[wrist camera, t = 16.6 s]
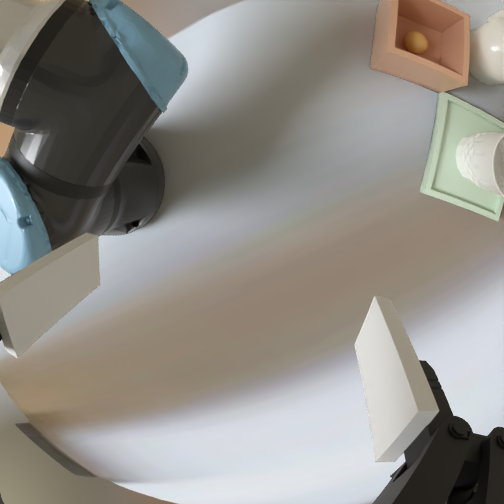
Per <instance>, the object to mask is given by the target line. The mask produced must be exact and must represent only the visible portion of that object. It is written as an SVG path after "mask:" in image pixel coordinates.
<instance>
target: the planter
mask: <svg viewBox="0 0 504 504" xmlns="http://www.w3.org/2000/svg"><path fill="white" fill-rule="evenodd" d="M410 31H417V32H420V33H422V34H423V35H424V36H425V37H426V39H427V41H428V49H427V51H426V52H425V53H423V54H414V53H412V52H410V51H409V50H408V49H407V48H406V46H405V44H404V37H405V35H406V34H407V33H408V32H410ZM469 55H470V16H469V15H468V14H466V13H464V12H462V11H460V10H458V9H456V8H454V7H452V6H450V5H448V4H446V3H444V2H442V1H440V0H381V1H380V3H379V4H378V6H377V12H376V22H375V31H374V39H373V47H372V54H371V61H370V68H371V69H375V70H378V71H381V72H384V73H387V74H390V75H393V76H396V77H399V78H402V79H404V80H407V81H410V82H412V83H415V84H418V85H420V86H423V87H425V88H428V89H430V90H432V91H435V92H437V93H441V92H444V91H448V90H452V89H455V88H459V87H463V86H466V85H468V74H469Z"/></svg>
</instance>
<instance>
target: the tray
mask: <svg viewBox="0 0 504 504" xmlns="http://www.w3.org/2000/svg"><path fill="white" fill-rule="evenodd" d="M487 132H504V123H503V122H501V121H500V120H498V119H496V118H494V117H493V116H491V115H489V114H487V113H485V112H484V111H482V110H480V109H478V108H476V107H474V106H472V105H470V104H468V103H466V102H464V101H462V100H460V99H458V98H456V97H454V96H452V95H450V94H448V93H445V92H441V93H439V94H438V102H437V109H436V115H435V121H434V127H433V133H432V138H431V144H430V149H429V153H428V158H427V163H426V167H425V172H424V176H423V180H422V184H421V188H420V192H422V193H424V194H427V195H430V196H433V197H436V198H439V199H441V200H444V201H447V202H450V203H453V204H455V205H458V206H461V207H463V208H466V209H469V210H471V211H474V212H476V213H479V214H481V215H484V216H486V217H489V218H491V219H494V220H496V221H499V217H500V214H501V210H502V206H503V203H504V198H502V197H500V196H498V195H496V194H494V193H492V192H489V191H487V190H485V189H483V188H481V187H479V186H477V185H476V184H473V183H471V182H469V181H468V180H466V179H465V178H464V177H462V175H461V173H460V171H459V170H458V168H457V163H456V157H455V155H456V150H457V145H458V144H459V142H460V141H461V139H462V138H463V137H465V136H467V135H469V134H478V133H487Z"/></svg>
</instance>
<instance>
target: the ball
mask: <svg viewBox="0 0 504 504" xmlns="http://www.w3.org/2000/svg"><path fill="white" fill-rule="evenodd" d="M404 44H405V46H406V48H407V49H408V50H409V51H410V52H412V53H414V54H423V53H425V52H426V51H427V49H428V41H427V39H426V37H425V36H424V35H423V34H422V33H420V32H417V31H410V32H408V33H407V34H406V35H405V37H404Z"/></svg>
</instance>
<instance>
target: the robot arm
mask: <svg viewBox="0 0 504 504" xmlns="http://www.w3.org/2000/svg"><path fill="white" fill-rule="evenodd" d="M187 74H188V64H187V61H186V59H185V57H184V56H183V55H182V53H181V52H180V51H179V50H178V49H177V48H176V47H175V46H174V45H173V44H172V43H171V42H170V41H169V40H168V39H166V38H165V37H164V36H163V35H162V34H161V33H160V32H159V31H158V30H156V29H155V28H154V27H153V26H152V25H151V24H150V23H148V22H147V21H146V20H145V19H143V18H142V17H141V16H140V15H139V14H137V13H136V12H135V11H134V10H132V9H131V8H130V7H128V6H127V5H125V4H124V3H123V2H121V1H120V0H89V2H88V1H85V0H50V1H44V2H42V1H40V0H0V122H2V123H5V124H7V125H10V126H12V127H15V130H14V133H13V135H12V137H11V140H10V143H9V145H8V148H7V151H6V153H5V155H4V156H3V157H2V158H1V157H0V266H1V267H2V268H3V269H4V270H5V271H6V272H8V273H9V274H11V276H10V277H8V278H6V279H5V280H4V281H2V282H0V341H1V340H2V341H3V343H4V346H5V349H6V351H7V352H8V353H10V354H12V355H13V356H15V357H16V358H19V357H20V356H21V355H22V354H23V353H24V352H25V351H26V350H27V349H28V348H29V347H30V346H31V345H33V344H34V343H35V342H36V341H37V340H38V339H39V338H40V337H41V336H42V335H43V334H44V333H46V332H47V331H48V330H49V329H50V328H51V327H52V326H53V325H54V324H55V323H57V322H58V321H59V320H60V319H61V318H62V317H63V316H64V315H66V314H67V313H68V312H69V311H70V310H71V309H72V308H74V307H75V306H76V305H77V304H78V303H79V302H81V301H82V300H83V299H84V298H85V297H86V296H88V295H89V294H90V293H91V292H92V291H94V290H95V289H96V288H97V287H98V286H100V272H99V250H98V237H99V236H100V235H125V234H128V233H131V232H133V231H135V230H137V229H139V228H140V227H142V226H144V225H145V224H146V223H148V222H149V221H150V220H151V219H152V218H153V216H154V215H155V214H156V212H157V210H158V208H159V206H160V204H161V201H162V198H163V193H164V172H163V167H162V164H161V161H160V158H159V156H158V154H157V152H156V151H155V149H154V148H153V146H152V145H151V144H150V143H149V142H148V141H147V140H146V139H145V138H143V137H144V136H145V134H146V133H147V132H148V130H149V129H150V128H151V126H152V125H153V124H154V122H155V121H156V120H157V118H158V117H159V116H160V114H161V113H162V112H163V113H164V112H165V111H166V109H167V105H168V103H169V102H170V100H171V99H172V97H173V96H174V94H175V93H176V92H177V90H178V89H179V88H180V86H181V85H182V84H183V82H184V81H185V79H186V77H187ZM355 349H356V354H357V359H358V363H359V368H360V373H361V378H362V383H363V389H364V394H365V399H366V405H367V411H368V417H369V423H370V429H371V435H372V442H373V449H374V456H375V462H395V461H396V460H397V459H398V458H399V457H400V456H401V455H402V454H403V453H404V454H405V459H406V462H405V463H404V464H403V465H402V466H401V467H399V468H398V469H397V470H396V471H395V472H394V473H393V474H392V475H391V476H390V477H392V479H391V481H390V482H389V483H388V485H387V486H386V487H385V489H384V490H383V491H382V492H381V494H380V495H379V496H378V497H377V499H376V500H375V501H374V502H373V504H504V428H503V427H496V428H494V429H493V430H492V431H491V432H490V434H489V435H488V436H484V435H479V434H475V433H473V432H472V428H471V427H470V425H469V424H468V423H467V422H466V421H465V420H464V419H462V418H460V417H457V416H453V413H452V411H451V408H450V406H449V403H448V401H447V399H446V396H445V394H444V392H443V389H441V388H442V387H441V385H440V382H438V378H437V376H436V374H435V371H434V370H433V368H432V367H431V366H430V365H429V364H428V363H427V362H426V361H421V360H419V359H418V357H417V355H416V353H415V350H414V348H413V346H412V344H411V342H410V339H409V337H408V335H407V333H406V331H405V329H404V327H403V325H402V323H401V320H400V318H399V316H398V314H397V312H396V310H395V308H394V306H393V304H392V302H391V300H390V298H385V297H379V296H374V298H373V301H372V303H371V306H370V309H369V311H368V314H367V316H366V319H365V321H364V323H363V326H362V328H361V331H360V333H359V335H358V338H357V340H356V342H355ZM0 504H4V503H3V501H2V498H1V495H0Z"/></svg>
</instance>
